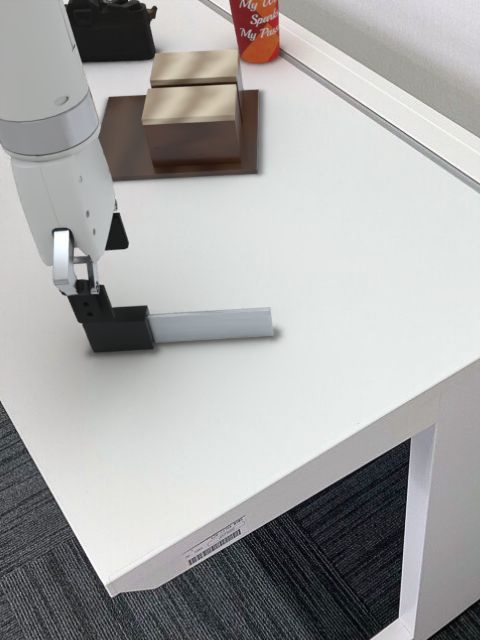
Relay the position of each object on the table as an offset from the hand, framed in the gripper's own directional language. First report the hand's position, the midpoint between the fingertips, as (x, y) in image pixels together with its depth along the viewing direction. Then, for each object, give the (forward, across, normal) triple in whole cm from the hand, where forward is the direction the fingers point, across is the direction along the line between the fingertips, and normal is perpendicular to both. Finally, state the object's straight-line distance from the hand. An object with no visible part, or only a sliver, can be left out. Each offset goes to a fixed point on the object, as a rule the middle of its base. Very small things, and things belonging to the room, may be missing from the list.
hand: (105, 282), depth 71 cm
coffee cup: (+9, -58, +13) cm, 60 cm away
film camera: (+8, -62, -11) cm, 64 cm away
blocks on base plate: (+9, -37, +2) cm, 38 cm away
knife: (+9, 0, +6) cm, 11 cm away
